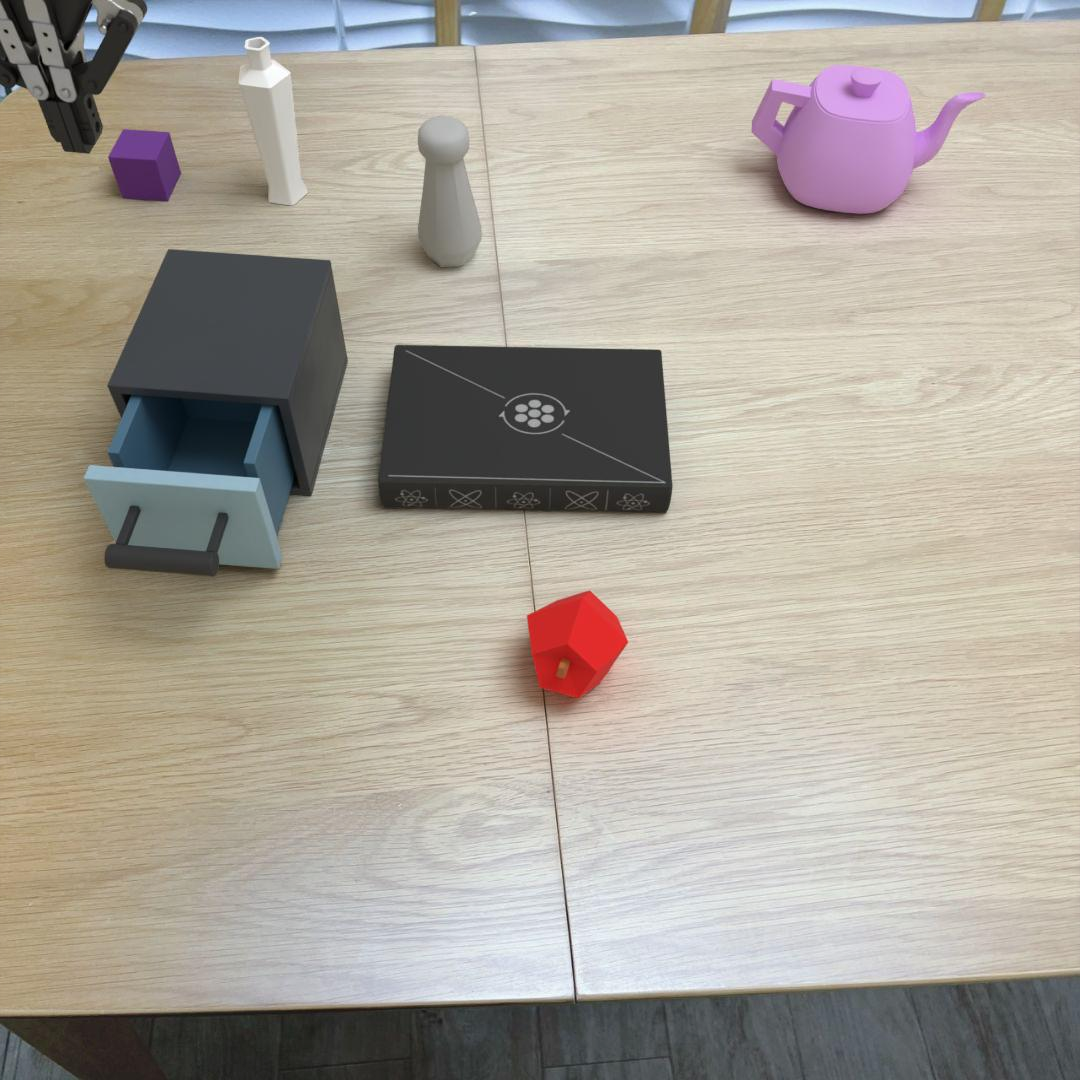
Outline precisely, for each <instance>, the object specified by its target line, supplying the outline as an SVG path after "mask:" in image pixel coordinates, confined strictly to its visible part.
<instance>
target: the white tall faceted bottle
mask: <svg viewBox="0 0 1080 1080" xmlns="http://www.w3.org/2000/svg"><path fill="white" fill-rule="evenodd" d="M244 41H245V42H244V49H245V50H246V53H247V57H248V61H249V62H247V63H245V64H242V65H240V67H239V74H238V82H237V83H238V87H239V89H240V93H241V96H242V100H243V103H244V106H245V110H246V113H247V116H248V121H249V123H250V126H251V130H252V133H253V137H254V140H255V144H256V147H257V150H258V153H259V157H260V161H261V163H262V168H263V170H264V173H265V177H266V181H267V184H268V192H267V193H268V196H267V200H268V201H267V202H268V203H271V204H278V205H283V206H284V205H285V206H295V205H296V204H297V203H298V202H299V201H301V200H303V198H304V197H305V196H306V195H307V194H308V193H309V191H308V189H307V187H306V185H305V183H304V181H303V179H302V171H301V162H300V154H299V153H300V151H299V142H298V133H297V124H296V114H295V104H294V95H293V94H294V93H293V84H292V75H291V71H290V70H288V69H287V68H286V67H285V66H283V65H282V64H280V63H279V62H278V61H276V60H275V59H272V56H271V50H270V44H271V43H270V41H269V40H267V39H266V38H264V37H263V36H257V37H252V38H248V39H246V40H244Z"/></svg>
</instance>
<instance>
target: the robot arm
mask: <svg viewBox="0 0 1080 1080" xmlns="http://www.w3.org/2000/svg"><path fill="white" fill-rule="evenodd" d="M92 7H93V8H95V10H96V15H97V16H96V25H97V27H98V32H99V33H100V34H101V35H103V38H102V40H101V41H100V44H99V46H98V47H97V50H96V51H95V54H94V55H93V57H92V60H87V55H86V52H85V41H86V40H85V38H86V37H85V36H86V35H85V30H84V25H85V23H86V21H87V18H88V16H89V14H90V11H91V9H92ZM147 12H148V5H147V3H146V1H144V0H0V86H2V87H3V88H7V89H12V88H14V87H16V86H18V87H20V88H24V89H25V90H27V91H28V93H29V94H30V95H31V96H32V97H33V98H34V99H36V100H37V102H38V105H39V107H40V110H41V112H42V115H43V118H44V121H45V123H46V126H47V128H48V131H49V134H50V136H51V137H52V138H53V140H54V141H55V142H56V143H60V145H61V147H62V150H63V151H64V152H65V153H76V154H86V155H88V154H90V153H91V152H92V150H93V149H94V147H95V146H96V144H97V142H98V141H99V139H100V137H101V136H102V133H103V129H104V124H103V121H102V118H101V116H100V113H99V109H98V107H97V104H96V100H95V97H94V96H98V95H100V94H102V92H103V91H104V89H105V87H106V86H107V84H108V82H109V81H110V79H111V78H112V76H113V74H114V73H115V71H116V70H117V68H118V66H119V64H120V62H121V60H122V58H123V56H124V54H125V53H126V51H127V50H128V48H129V46H130V44H131V42H132V40H133V38H134V37H135V34H136V33H137V31H138V29H139V28H140V26H141V24H142V22H143V20H144V19H145V16H146V15H147Z"/></svg>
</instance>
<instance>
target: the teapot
mask: <svg viewBox="0 0 1080 1080" xmlns="http://www.w3.org/2000/svg"><path fill="white" fill-rule="evenodd" d="M986 96H987V94H986V93H984V92H982V91H981V92H980V91H969V92H962V93H959V94H956V95H954V96H953V97H951V98H950V99H948V100H947V101H946V102H945V104H944V105H943V106H942V108H941V110H940V111H939V113H938V115H937V117H936V119H935V120H934V121H933V123H932V124H930V126H928V127H926V128H925V129H922V130H920V131H917V127H916V118H915V113H914V108H913V103H912V99H911V95H910V92H909V89H908V86H907V84H906V83H905V82H904V80H903V79H902V77H900V76H899V75H897V74H896V73H895V72H893V71H889V70H887V69H881V68H877V67H869V66H862V65H861V66H860V65H848V64H836V65H831V66H828V67H826V68H824V69H823V70H821V71H820V72H819V74H817V76H816V77H815V78H814V79H813V80H812V82H811V83H810V84H809V85H806V84H800V83H797V82H790V81H786V80H785V81H784V80H780V79H775V78H772V79H771V81H770V82H769V85H768V87H767V88H766V90H765V93H764V95H763V97H762V99H761V101H760V103H759V105H758V107H757V109H756V112H755V113H754V116H753V118H752V120H751V131H750V132H751V133H752V134H753V135H754V136H755V137H756V138H757V139H758V140H759V141H760V142H761V143H762V144H763V145H765V146H766V147H767V148H768V149H769V150H770V151H771V152H773V154H775V155H776V163H777V164H776V165H777V168H778V172H779V174H780V177H781V179H782V182H783V184H784V186H785V188H786V189H787V191H788V193H789V195H791V197H792V198H793V199H795V200H796V201H797V202H799V203H801V204H802V205H804V206H807V207H811V208H814V209H819V210H824V211H830V212H836V213H846V214H860V215H861V214H862V215H863V214H874V213H878V212H880V211H882V210H884V209H885V208H887V207H889V206H890V205H891V204H893V203H894V202H895V201H896V200H897V199H899V198H900V196H901V195H902V194H903V192H904V191H905V190H906V188H907V187H908V185H909V184H910V181H911V178H912V175H913V170H915V169H917V168H919V167H922V166H924V165H926V164H928V163H929V162H930V161H932V160H933V159H934V158H935V157H936V156H937V155H938V153H939V152H940V151H941V149H942V147H943V146H944V143H945V142H946V140H947V137H948V136H949V133H950V131H951V128H952V126H953V124H954V123H955V121H956V119H957V117H958V116H959V115H960V113H961V112H962V111H963V110H964V109H965V108H967V107H968V106H971V105H972V104H974V103H976V102H977V101H980V100H982V99H984V98H985V97H986ZM782 103H785V104H788V105H792V106H793V108H792V109H791V111H790V113H789V115H788V117H787V118H786V121H785V123H784V125H783V124H782V123H781V122H779V121H778V119H777V116H778V115H779V114H778V113H779V111H780V108H781V105H782Z"/></svg>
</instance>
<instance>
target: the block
mask: <svg viewBox="0 0 1080 1080" xmlns="http://www.w3.org/2000/svg"><path fill="white" fill-rule="evenodd" d="M107 159H108V161H109V164H110V167H111V170H112V173H113V176H114V178H115V179H114V180H115V181H116V184H117V187H118V190H119V193H120V196H121V198H122V199H131V200H133V199H134V200H145V201H146V200H147V201H160V202H168V201H169V200H170V198H171V195H172V193H173V192H174V189H175V187H176V185H177V182H178V180H179V178H180V176H181V174H182V171H181V168H180V165H179V161H178V157H177V154H176V151H175V147H174V143H173V140H172V136H171V133H170V131H157V130H145V129H144V130H143V129H142V130H141V129H128V128H127V129H126V128H123V129H122V130H121V132H120V134H119V136H118V138H117V139H116V141H115V143H114V145H113V147H112V149H111V151H110V152H109V154H108V155H107Z"/></svg>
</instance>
